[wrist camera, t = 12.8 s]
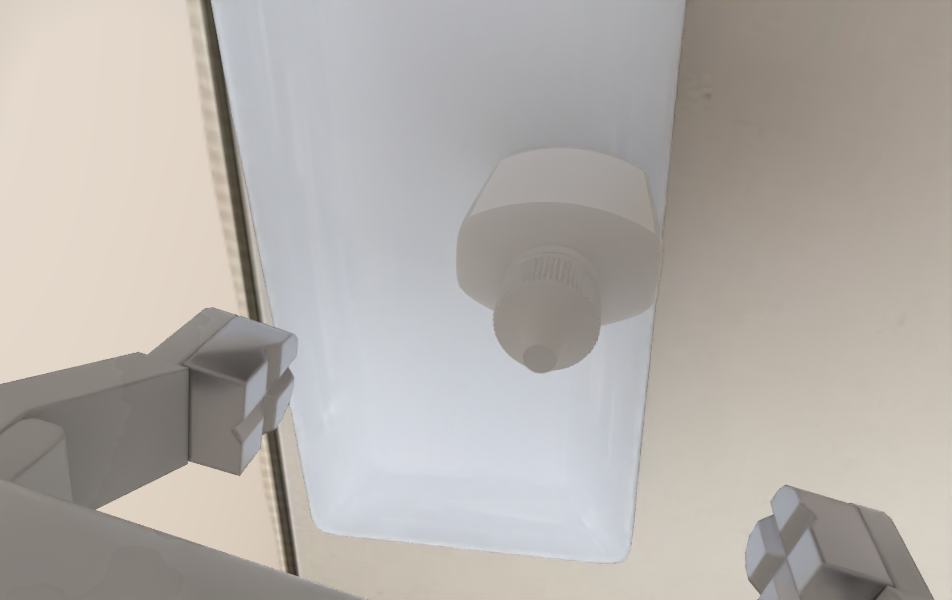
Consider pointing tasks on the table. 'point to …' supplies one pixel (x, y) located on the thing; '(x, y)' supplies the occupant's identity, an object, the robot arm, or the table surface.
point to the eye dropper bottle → (560, 251)
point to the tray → (443, 256)
